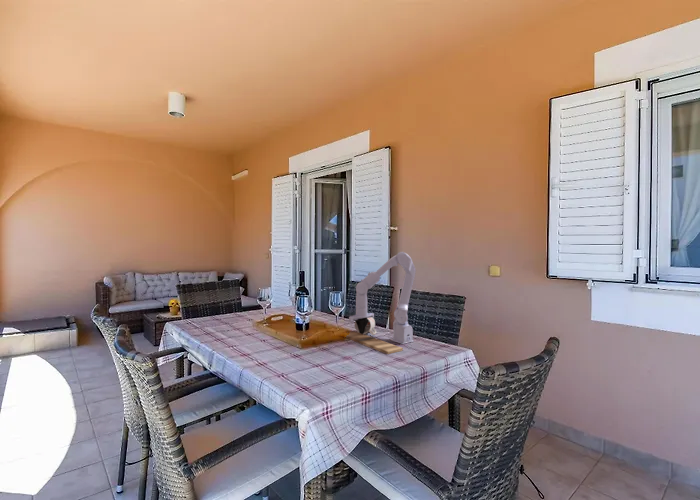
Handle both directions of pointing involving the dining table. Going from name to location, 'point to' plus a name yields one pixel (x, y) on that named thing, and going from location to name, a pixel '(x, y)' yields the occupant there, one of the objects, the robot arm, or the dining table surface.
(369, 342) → the oak board
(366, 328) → the mug
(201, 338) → the dining table surface
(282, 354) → the dining table surface
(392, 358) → the dining table surface
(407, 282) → the robot arm
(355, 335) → the plank
